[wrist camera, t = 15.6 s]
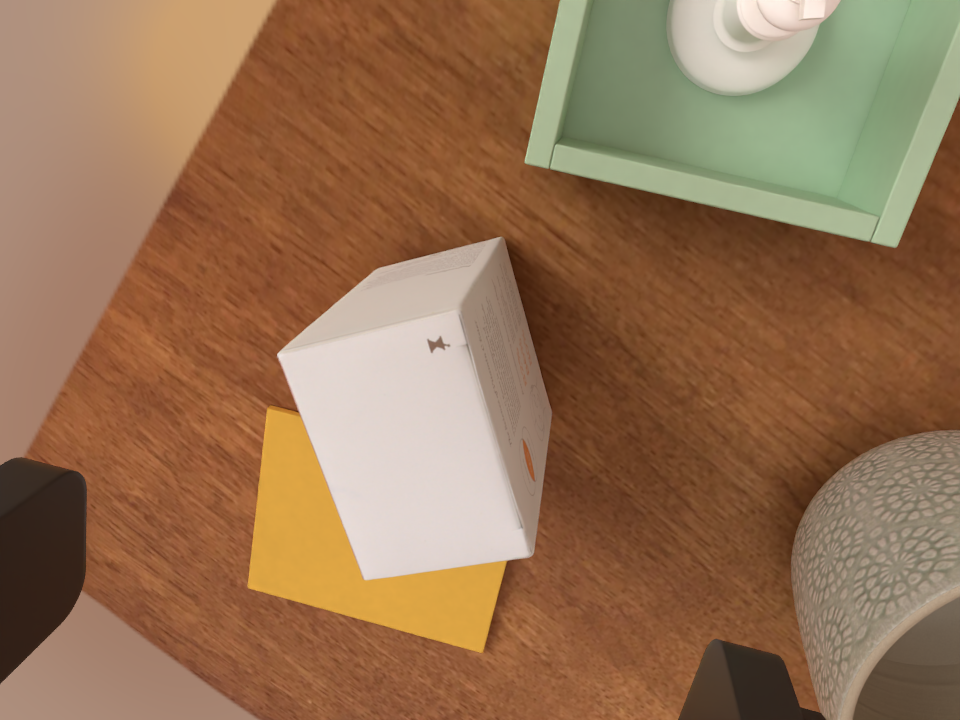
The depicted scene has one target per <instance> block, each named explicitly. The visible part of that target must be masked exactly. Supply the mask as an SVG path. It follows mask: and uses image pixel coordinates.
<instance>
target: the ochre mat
mask: <svg viewBox="0 0 960 720" xmlns="http://www.w3.org/2000/svg"><path fill="white" fill-rule="evenodd" d="M506 563H507V560H506V561H499V562H492V563H484V564H477V565H471V566H464V567H457V568H450V569H443V570H437V571H430V572H422V573H416V574H409V575H403V576H395V577H388V578H380V579H372V580H364V579H363V578H362V575H361V571H360V569H359V566H358V564H357V561H356V559H355V556H354V554H353V551H352V548H351V545H350V543H349V540H348V537H347V535H346V532H345V530H344V527H343V525H342V522H341V519H340V517H339V514H338V512H337V509H336V506H335V504H334V501H333V499H332V496H331V494H330V491H329V489H328V486H327V483H326V481H325V478H324V476H323V473H322V470H321V468H320V465H319V462H318V460H317V457H316V455H315V452H314V450H313V447H312V445H311V442H310V440H309V437H308V435H307V432H306V429H305V427H304V424H303V422H302V419H301V416H300V414H299V412H295V411H291V410H287V409H284V408H280V407H276V406H272V405H270V406H269V407H268V408H267V415H266V424H265V433H264V442H263V451H262V461H261V470H260V479H259V488H258V497H257V506H256V516H255V525H254V534H253V543H252V552H251V562H250V571H249V580H248V588H249V589H253V590H257V591H260V592H264V593H267V594H271V595H275V596H278V597H282V598H285V599H289V600H293V601H296V602H300V603H303V604H307V605H311V606H314V607H318V608H321V609H325V610H329V611H332V612H336V613H339V614H343V615H347V616H350V617H354V618H357V619H361V620H365V621H368V622H372V623H375V624H379V625H382V626H386V627H390V628H393V629H397V630H400V631H404V632H408V633H411V634H415V635H418V636H422V637H426V638H429V639H433V640H436V641H440V642H444V643H447V644H451V645H454V646H458V647H462V648H465V649H469V650H472V651H476V652H480V653H483V651H484V647H485V643H486V640H487V636H488V632H489V628H490V624H491V621H492V617H493V613H494V609H495V605H496V602H497V598H498V594H499V590H500V586H501V583H502V579H503V575H504V571H505V567H506Z"/></svg>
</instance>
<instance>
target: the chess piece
mask: <svg viewBox="0 0 960 720" xmlns="http://www.w3.org/2000/svg"><path fill="white" fill-rule="evenodd" d="M840 1H841V0H670V2H669V6H668V11H667V19H666V32H667V40H668V45H669V48H670V51H671V54H672V56H673V59H674V61H675V62H676V64H677V66H678V67H679V69H680V70H681V71H682V73H683V74H684V75H685V76H686V77H687V78H688V79H689V80H690V81H691V82H693V83H694V84H695V85H697V86H699V87H700V88H702V89H704V90H706V91H709V92H711V93H715V94H719V95H725V96H742V95H748V94H752V93H756V92H759V91H762V90H764V89H766V88H768V87H770V86H772V85H774V84H776V83H777V82H779V81H780V80H782V79H783V78H784V77H785V76H787V75H788V74H789V73H790V72H791V71H792V70H793V69H794V68H795V67H796V66H797V65H798V64H799V63H800V62H801V60H802V59H803V58H804V57H805V55H806V54H807V52H808V51H809V49H810V47H811V45H812V43H813V41H814V39H815V37H816V34H817V31H818V28H819V25H820V23H821V22H823V21H824V20H825V19H827V18H828V17H829V16H830V15H831V14H832V13H833V11H834V10H835V9H836V7H837V6H838V4H839V3H840Z"/></svg>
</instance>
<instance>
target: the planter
mask: <svg viewBox="0 0 960 720" xmlns="http://www.w3.org/2000/svg"><path fill="white" fill-rule="evenodd" d="M791 581H792V589H793V597H794V604H795V610H796V615H797V620H798V625H799V630H800V635H801V639H802V643H803V647H804V651H805V655H806V659H807V663H808V667H809V671H810V675H811V679H812V684H813V687H814V691H815V694H816V698H817V702H818V705H819V709H820V712H821V714H822V715H823V716H824V717H825V719H826V720H960V430H939V431H930V432H923V433H918V434H913V435H909V436H905V437H902V438H898V439H895V440H892V441H889V442H887V443H884V444H882V445H879V446H877V447H875V448H873V449H871V450H869V451H867V452H865V453H863V454H862V455H860V456H858V457H856V458H855V459H853V460H852V461H850V462H849V463H848V464H846V465H845V466H843V467H842V468H841V469H840V470H838V471H837V472H836V473H835V474H834V475H833V476H832V477H831V478H830V479H829V480H828V481H827V482H826V483H825V484H824V485H823V486H822V487H821V488H820V489H819V491H818V492H817V493H816V495H815V496H814V497H813V499H812V500H811V502H810V504H809V505H808V507H807V509H806V511H805V512H804V515H803V517H802V519H801V521H800V523H799V526H798V529H797V532H796V535H795V539H794V544H793V549H792V556H791Z"/></svg>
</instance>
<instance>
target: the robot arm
mask: <svg viewBox="0 0 960 720" xmlns="http://www.w3.org/2000/svg"><path fill="white" fill-rule="evenodd" d="M86 502H87V489H86V482H85V479H84V477H83V476H82V475H81V474H80V473H79V472H76V471H73V470H69V469H65V468H61V467H57V466H53V465H49V464H45V463H42V462H38V461H34V460H30V459H26V458H22V457H20V458H14V459H11V460H9V461H7V462H5V463H4V464H2V465H0V683H1V682H2V681H4V680H5V679H6V677H8V676H9V675H10V674H11V673H12V672H13V671H14V670H15V669H16V668H17V667H18V666H19V665H20V664H21V663H22V662H23V661H24V660H25V659H26V658H27V657H28V656H29V655H30V654H31V653H32V652H33V651H34V650H35V649H36V648H37V647H38V646H39V645H40V644H41V643H42V642H43V641H44V640H45V639H46V638H47V637H48V636H49V635H50V634H51V633H52V632H53V631H54V630H55V629H56V628H57V627H58V626H59V625H60V624H61V623H62V622H63V621H64V620H65V619H66V617H67V616H68V615H69V613H70V612H71V610H72V609H73V607H74V605H75V603H76V601H77V599H78V597H79V595H80V592H81V590H82V587H83V583H84V579H85V572H86ZM678 720H826V719H825V717H824V716H823V715H822V714H821V713H819V712H815V711H812V710H808V709H804V708H800V706H799V703H798V700H797V697H796V694H795V692H794V689H793V686H792V683H791V680H790V677H789V674H788V671H787V669H786V666H785V664H784V661H783V660H782V658H781V657H780V656H779V655H776V654H772V653H768V652H764V651H761V650H757V649H753V648H749V647H745V646H741V645H737V644H734V643H730V642H726V641H722V640H718V639H714V640H713V641H711V642H710V644H709V645H708V647H707V648H706V650H705V653H704V655H703V658H702V660H701V663H700V665H699V668H698V670H697V673H696V676H695V678H694V681H693V683H692V686H691V688H690V691H689V693H688V696H687V699H686V701H685V704H684V706H683V709H682V711H681V714H680V716H679V719H678Z"/></svg>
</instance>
